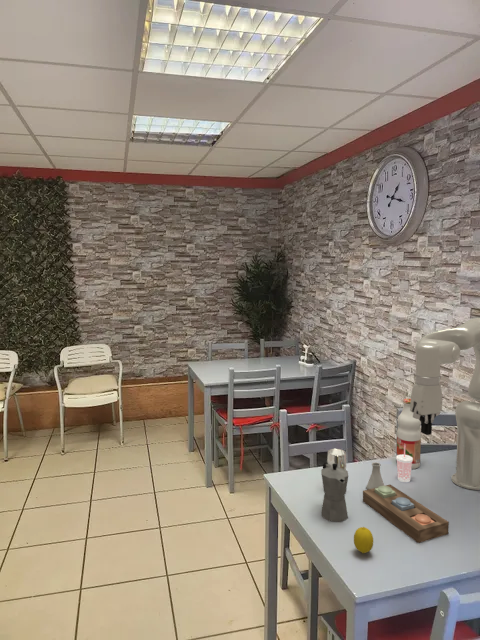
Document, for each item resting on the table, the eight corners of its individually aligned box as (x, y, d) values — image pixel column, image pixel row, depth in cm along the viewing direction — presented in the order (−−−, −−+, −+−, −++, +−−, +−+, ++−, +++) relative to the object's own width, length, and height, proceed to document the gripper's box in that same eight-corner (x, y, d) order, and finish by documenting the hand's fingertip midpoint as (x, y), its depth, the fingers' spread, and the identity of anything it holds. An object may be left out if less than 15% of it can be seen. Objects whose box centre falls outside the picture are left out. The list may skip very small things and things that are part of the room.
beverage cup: (413, 478, 179) (414, 444, 178) (410, 484, 174) (411, 449, 173) (397, 474, 183) (398, 441, 181) (393, 480, 177) (394, 446, 176)
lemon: (351, 548, 136) (351, 522, 135) (369, 546, 136) (369, 521, 135) (357, 559, 130) (357, 533, 129) (376, 558, 131) (376, 532, 130)
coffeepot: (356, 523, 149) (357, 470, 146) (329, 527, 146) (329, 474, 144) (336, 500, 163) (336, 452, 161) (311, 503, 161) (311, 455, 159)
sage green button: (385, 492, 163) (386, 484, 163) (395, 499, 159) (395, 490, 158) (374, 495, 161) (374, 487, 161) (383, 501, 157) (383, 493, 156)
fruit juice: (424, 468, 188) (426, 402, 185) (403, 470, 186) (405, 403, 183) (412, 459, 197) (414, 396, 194) (392, 461, 195) (393, 397, 192)
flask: (386, 494, 167) (387, 468, 166) (366, 493, 168) (366, 467, 167) (384, 485, 174) (385, 460, 173) (365, 484, 175) (365, 459, 174)
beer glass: (325, 493, 169) (325, 454, 167) (329, 484, 175) (329, 447, 173) (344, 496, 166) (344, 457, 164) (347, 487, 172) (347, 449, 171)
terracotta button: (423, 521, 147) (423, 512, 146) (434, 529, 142) (435, 520, 142) (410, 524, 145) (410, 515, 145) (422, 533, 140) (422, 523, 140)
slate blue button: (403, 504, 155) (403, 495, 155) (414, 511, 150) (414, 502, 150) (391, 507, 153) (391, 498, 153) (402, 514, 149) (402, 505, 148)
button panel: (389, 494, 167) (390, 484, 166) (448, 534, 142) (448, 521, 141) (362, 501, 162) (362, 490, 162) (418, 543, 137) (418, 530, 137)
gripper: (436, 375, 158) (434, 426, 160) (401, 380, 152) (400, 433, 154) (453, 380, 151) (451, 433, 153) (418, 385, 145) (416, 440, 147)
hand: (426, 433), depth 153 cm, fingers closed
